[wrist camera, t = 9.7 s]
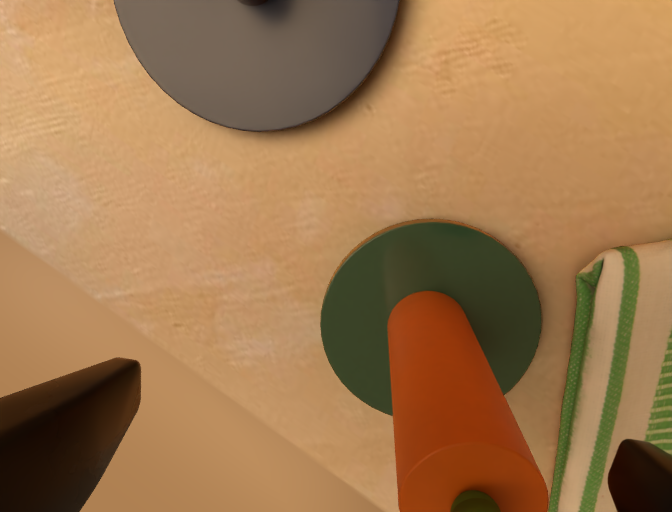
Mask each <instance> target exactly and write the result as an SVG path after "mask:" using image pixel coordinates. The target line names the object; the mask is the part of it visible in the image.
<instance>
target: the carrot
mask: <svg viewBox="0 0 672 512" xmlns="http://www.w3.org/2000/svg"><path fill="white" fill-rule="evenodd" d="M387 328H388V345H389V360H390V376H391V392H392V408H393V424H394V440H395V456H396V471H397V487H398V503H399V510H400V512H547V510H548V490H547V487H546V483H545V481H544V479H543V477H542V475H541V472H540V470H539V468H538V466H537V464H536V462H535V460H534V458H533V456H532V454H531V451H530V449H529V447H528V445H527V443H526V441H525V439H524V437H523V435H522V433H521V430H520V428H519V426H518V424H517V422H516V420H515V418H514V416H513V414H512V412H511V409H510V407H509V405H508V403H507V401H506V399H505V397H504V395H503V393H502V391H501V388H500V386H499V384H498V382H497V380H496V378H495V376H494V374H493V372H492V370H491V367H490V365H489V363H488V361H487V359H486V357H485V355H484V353H483V351H482V349H481V346H480V344H479V342H478V340H477V338H476V336H475V334H474V332H473V330H472V328H471V325H470V323H469V321H468V319H467V317H466V315H465V313H464V311H463V309H462V308H461V306H460V305H459V304H458V303H457V302H456V301H455V300H454V299H453V298H451V297H449V296H448V295H445V294H443V293H440V292H435V291H421V292H416V293H413V294H411V295H408V296H407V297H405V298H403V299H402V300H401V301H400V302H399V303H398V304H397V305H396V306H395V307H394V308H393V310H392V312H391V314H390V316H389V320H388V326H387Z"/></svg>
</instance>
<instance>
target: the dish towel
mask: <svg viewBox="0 0 672 512" xmlns="http://www.w3.org/2000/svg"><path fill="white" fill-rule="evenodd" d="M576 291H577V307H576V314H575V323H574V331H573V338H572V344H571V354H570V359H569V365H568V371H567V380H566V387H565V392H564V397H563V404H562V411H561V420H560V430H559V438H558V447H557V455H556V464H555V470H554V477H553V484H552V490H551V496H550V503H549V509H548V512H617V510H616V507H615V504H614V502H613V499H612V496H611V494H610V491H609V488H608V473H609V470H610V468H611V465H612V462H613V460H614V457H615V455H616V452H617V449H618V447H619V445H620V443H621V442H622V441H623V440H625V439H634V440H641V441H647V442H650V443H652V444H654V445H655V446H657V447H659V448H660V449H662V450H664V451H665V452H667V453H669V454H670V455H672V239H668V240H664V241H660V242H653V243H646V244H638V245H631V246H620V247H616V248H612V249H608V250H606V251H604V252H602V253H600V254H599V255H598V256H597V257H596V258H595V259H594V260H593V261H592V262H591V263H589V264H588V265H587V266H586V267H585V268H583V269H582V270H581V271H580V272H579V273H578V274H577V275H576Z"/></svg>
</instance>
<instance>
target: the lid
mask: <svg viewBox="0 0 672 512" xmlns="http://www.w3.org/2000/svg"><path fill="white" fill-rule="evenodd" d="M399 1H400V0H114V4H115V7H116V11H117V14H118V17H119V20H120V24H121V26H122V28H123V31H124V33H125V35H126V38H127V40H128V42H129V44H130V46H131V48H132V49H133V51H134V53H135V55H136V57H137V58H138V60H139V62H140V63H141V64H142V66H143V67H144V68H145V70H146V71H147V73H148V74H149V75H150V77H151V78H152V79H153V80H154V81H155V82H156V83H157V84H158V85H159V86H160V88H161V89H162V90H163V91H164V92H165V93H167V94H168V95H169V96H170V97H171V98H172V99H174V100H175V101H176V102H177V103H178V104H180V105H181V106H183V107H184V108H186V109H187V110H189V111H190V112H192V113H193V114H195V115H197V116H199V117H201V118H204V119H206V120H208V121H210V122H213V123H215V124H218V125H221V126H224V127H228V128H233V129H238V130H243V131H257V132H265V131H277V130H284V129H288V128H293V127H297V126H300V125H303V124H306V123H308V122H311V121H314V120H316V119H317V118H319V117H321V116H323V115H325V114H327V113H329V112H330V111H332V110H333V109H334V108H336V107H337V106H339V105H340V104H341V103H343V102H344V101H345V100H346V99H347V98H348V97H349V96H350V95H352V94H353V93H354V92H355V91H356V90H357V89H358V88H359V87H360V85H361V84H362V83H363V82H364V80H365V79H366V78H367V77H368V76H369V74H370V73H371V71H372V70H373V68H374V67H375V65H376V63H377V62H378V60H379V59H380V57H381V55H382V53H383V51H384V49H385V47H386V44H387V42H388V40H389V38H390V35H391V32H392V29H393V26H394V23H395V20H396V16H397V11H398V6H399Z"/></svg>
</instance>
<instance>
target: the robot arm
mask: <svg viewBox="0 0 672 512" xmlns="http://www.w3.org/2000/svg"><path fill="white" fill-rule="evenodd" d="M140 400H141V367H140V363H139V362H138V361H136V360H132V359H125V358H114V359H111V360H108V361H105V362H102V363H99V364H96V365H93V366H91V367H88V368H85V369H82V370H79V371H76V372H73V373H70V374H68V375H65V376H62V377H59V378H56V379H53V380H51V381H48V382H45V383H42V384H39V385H36V386H33V387H31V388H27V389H24V390H22V391H19V392H16V393H13V394H10V395H7V396H4V397H2V398H0V512H79V511H80V510H81V508H82V507H83V506H84V504H85V503H86V501H87V500H88V498H89V497H90V495H91V494H92V492H93V491H94V489H95V487H96V485H97V484H98V482H99V481H100V479H101V477H102V475H103V474H104V472H105V470H106V468H107V466H108V465H109V463H110V461H111V459H112V457H113V455H114V453H115V451H116V449H117V448H118V446H119V444H120V442H121V441H122V438H123V437H124V435H125V433H126V431H127V429H128V427H129V426H130V424H131V422H132V420H133V418H134V416H135V415H136V413H137V411H138V408H139V405H140ZM608 488H609V491H610V494H611V496H612V499H613V502H614V504H615V507H616V510H617V512H672V455H670V454H669V453H667V452H665V451H664V450H662V449H660V448H659V447H657V446H655V445H654V444H652V443H650V442H647V441H641V440H634V439H625V440H623V441H622V442H621V443H620V445H619V447H618V449H617V452H616V455H615V457H614V460H613V462H612V465H611V468H610V470H609V473H608Z"/></svg>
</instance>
